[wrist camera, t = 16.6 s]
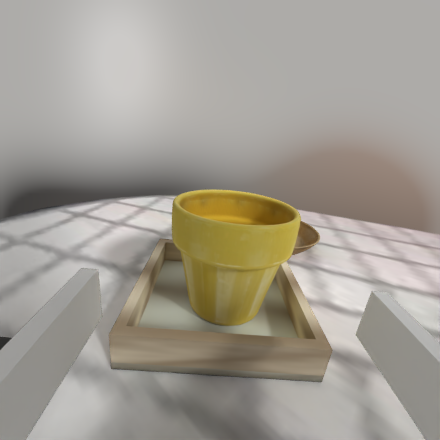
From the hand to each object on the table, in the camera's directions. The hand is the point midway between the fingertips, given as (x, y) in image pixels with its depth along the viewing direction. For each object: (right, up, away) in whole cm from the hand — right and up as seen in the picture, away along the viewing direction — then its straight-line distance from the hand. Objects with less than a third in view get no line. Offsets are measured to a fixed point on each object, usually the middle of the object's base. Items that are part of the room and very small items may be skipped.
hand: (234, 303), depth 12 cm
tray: (-1, -4, +12) cm, 13 cm away
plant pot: (0, -4, +12) cm, 12 cm away
